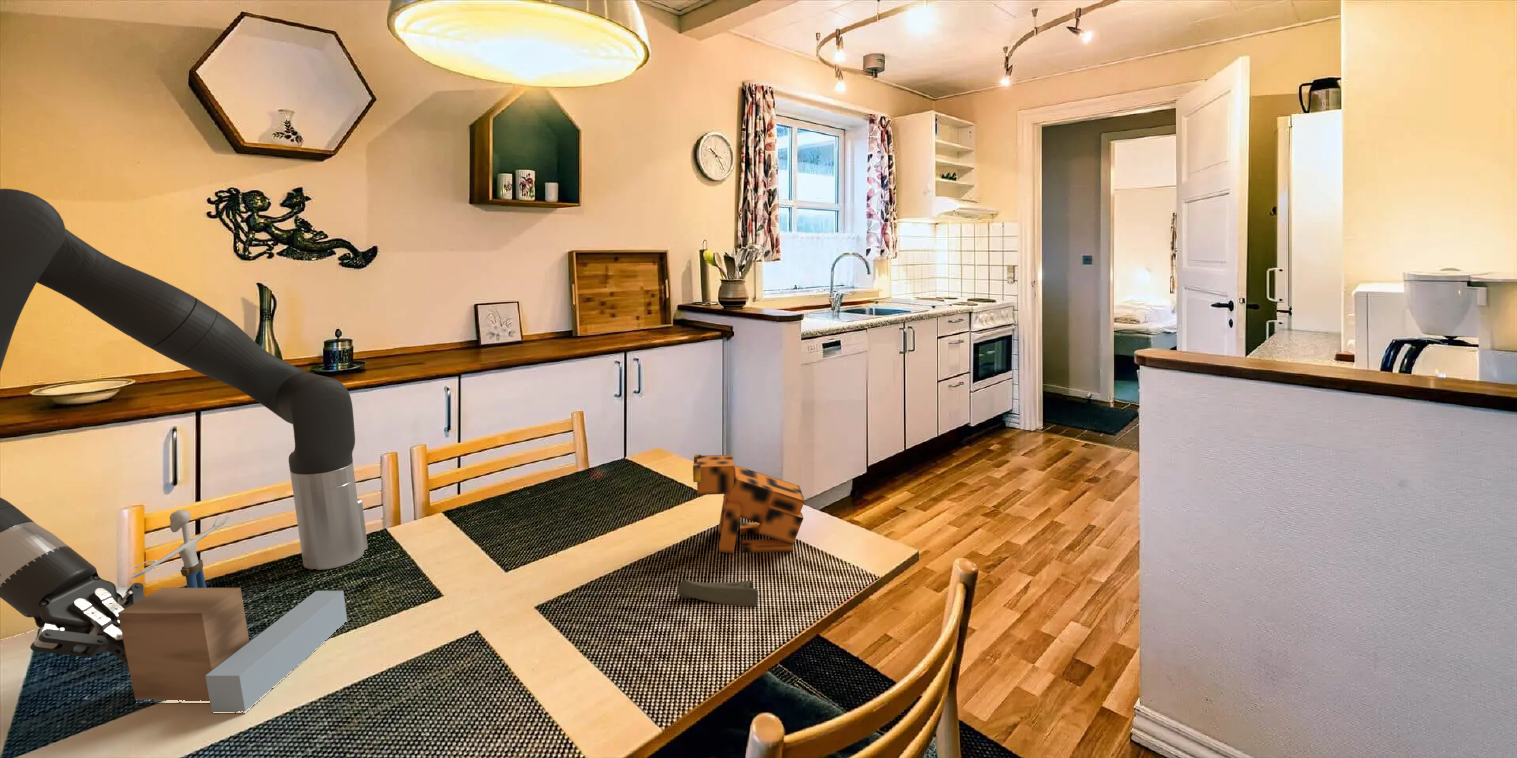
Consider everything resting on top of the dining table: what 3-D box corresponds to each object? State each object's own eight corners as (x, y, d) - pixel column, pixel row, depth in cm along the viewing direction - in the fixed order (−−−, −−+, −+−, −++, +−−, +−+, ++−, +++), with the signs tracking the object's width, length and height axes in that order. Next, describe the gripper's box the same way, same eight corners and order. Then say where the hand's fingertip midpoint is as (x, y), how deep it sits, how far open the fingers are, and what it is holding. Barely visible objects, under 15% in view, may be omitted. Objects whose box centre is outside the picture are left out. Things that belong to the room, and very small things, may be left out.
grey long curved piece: (761, 591, 108) (761, 571, 107) (757, 608, 103) (756, 587, 103) (683, 588, 110) (682, 568, 109) (675, 604, 105) (674, 583, 104)
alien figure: (216, 605, 104) (196, 487, 101) (254, 602, 105) (235, 485, 101) (113, 687, 85) (84, 543, 81) (161, 683, 86) (134, 541, 82)
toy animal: (805, 551, 122) (806, 467, 119) (694, 555, 121) (692, 470, 118) (798, 527, 132) (798, 450, 129) (696, 531, 131) (694, 452, 128)
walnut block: (178, 673, 88) (162, 587, 85) (254, 673, 87) (240, 587, 85) (135, 703, 82) (117, 612, 79) (217, 703, 82) (201, 613, 79)
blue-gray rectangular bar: (320, 622, 99) (316, 590, 98) (347, 622, 99) (343, 590, 98) (212, 713, 80) (205, 675, 79) (245, 713, 80) (239, 675, 79)
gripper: (-13, 574, 75) (116, 674, 77) (102, 526, 88) (209, 613, 90) (-49, 617, 76) (78, 715, 78) (70, 564, 89) (176, 649, 91)
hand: (148, 660), depth 84 cm, fingers closed
